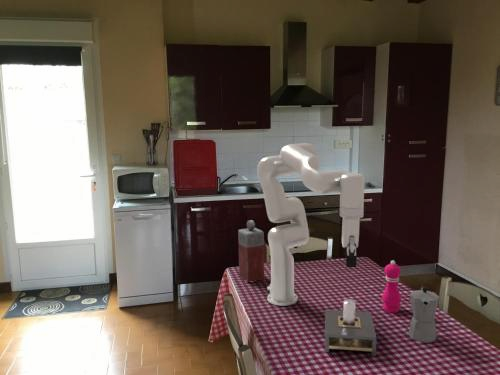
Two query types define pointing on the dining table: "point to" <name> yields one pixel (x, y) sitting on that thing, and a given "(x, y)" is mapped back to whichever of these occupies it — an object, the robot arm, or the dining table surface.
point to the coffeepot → (423, 315)
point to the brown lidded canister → (251, 253)
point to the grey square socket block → (349, 332)
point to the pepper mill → (392, 288)
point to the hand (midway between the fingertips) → (350, 261)
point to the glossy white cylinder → (349, 312)
